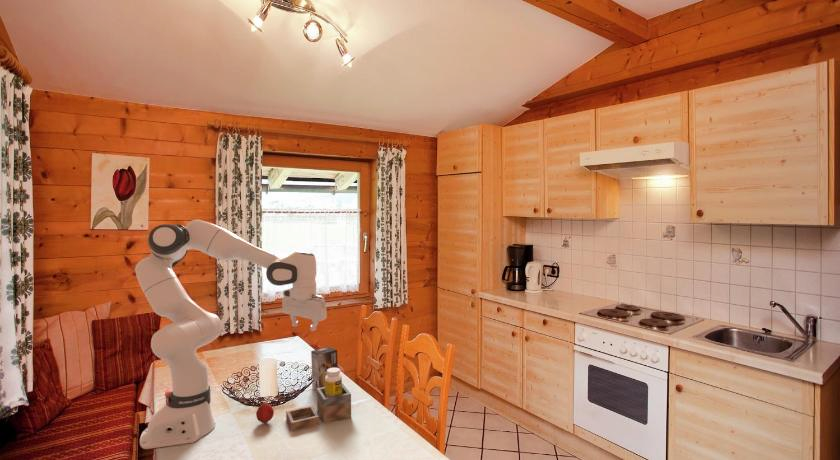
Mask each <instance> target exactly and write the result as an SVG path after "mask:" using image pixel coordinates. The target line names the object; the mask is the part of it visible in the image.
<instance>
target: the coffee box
mask: <svg viewBox="0 0 840 460" xmlns="http://www.w3.org/2000/svg"><path fill="white" fill-rule="evenodd" d="M310 351H311V353H310V354H311V356H310V357H311V380H312V379H313V380H314V381H313V383H312V382H311V384H312V387H311V388H312V389H313V390H315V391H317V388H322V387H325V377H326V376H327V370H328V369H329V368H339V366H338V349H336V348H335V347H332V346H325V347H321V348H317V349H314V350H310Z"/></svg>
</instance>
